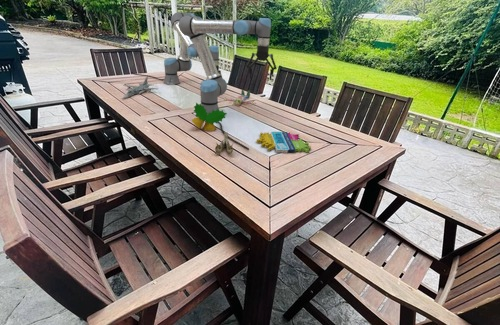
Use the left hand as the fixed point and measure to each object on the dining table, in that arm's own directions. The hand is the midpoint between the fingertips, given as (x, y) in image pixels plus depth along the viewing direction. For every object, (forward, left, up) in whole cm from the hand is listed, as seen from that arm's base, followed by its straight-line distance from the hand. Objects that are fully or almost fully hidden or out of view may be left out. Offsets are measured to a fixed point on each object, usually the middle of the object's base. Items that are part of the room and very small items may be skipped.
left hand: (214, 90), depth 234 cm
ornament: (+52, -63, -4) cm, 82 cm away
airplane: (-46, -45, -4) cm, 65 cm away
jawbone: (+80, -81, -4) cm, 114 cm away
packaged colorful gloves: (+97, -50, -4) cm, 110 cm away
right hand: (+61, -21, +23) cm, 68 cm away
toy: (+31, 0, -4) cm, 31 cm away
